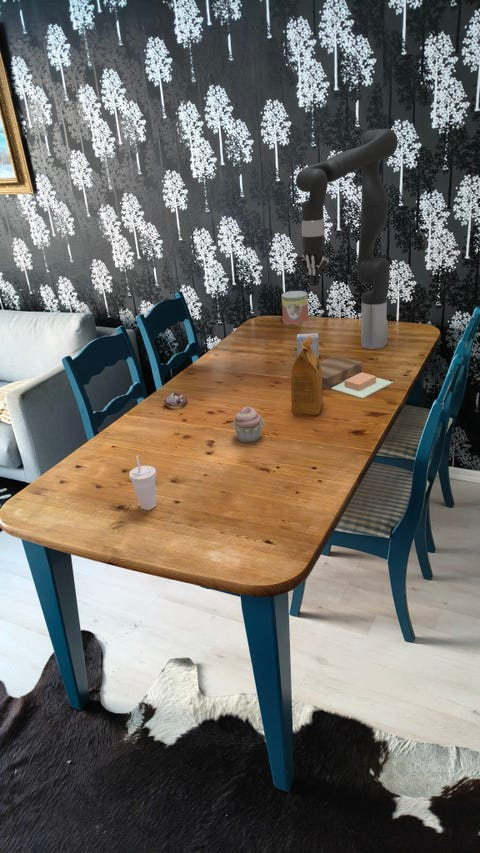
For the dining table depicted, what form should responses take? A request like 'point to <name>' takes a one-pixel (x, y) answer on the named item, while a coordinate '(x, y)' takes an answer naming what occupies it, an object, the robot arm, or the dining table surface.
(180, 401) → the pastry
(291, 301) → the canned food
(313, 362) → the coffee package
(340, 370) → the deck
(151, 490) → the smoothie
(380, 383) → the mat
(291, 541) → the dining table surface
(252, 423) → the cupcake
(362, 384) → the pink rectangular block
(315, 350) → the medicine box
